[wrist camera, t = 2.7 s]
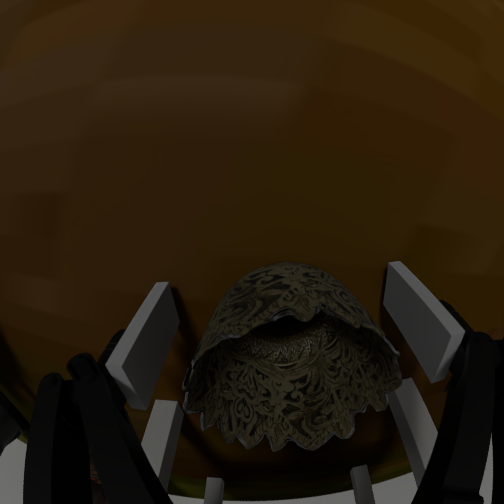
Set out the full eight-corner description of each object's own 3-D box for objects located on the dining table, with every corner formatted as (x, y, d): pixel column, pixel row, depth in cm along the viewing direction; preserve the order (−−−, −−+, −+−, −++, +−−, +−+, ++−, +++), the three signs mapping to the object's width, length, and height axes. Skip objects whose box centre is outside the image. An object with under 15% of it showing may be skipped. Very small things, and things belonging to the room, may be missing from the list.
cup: (259, 197, 13) (260, 270, 6) (370, 268, 14) (440, 366, 7) (192, 307, 16) (153, 419, 8) (295, 355, 17) (309, 463, 10)
